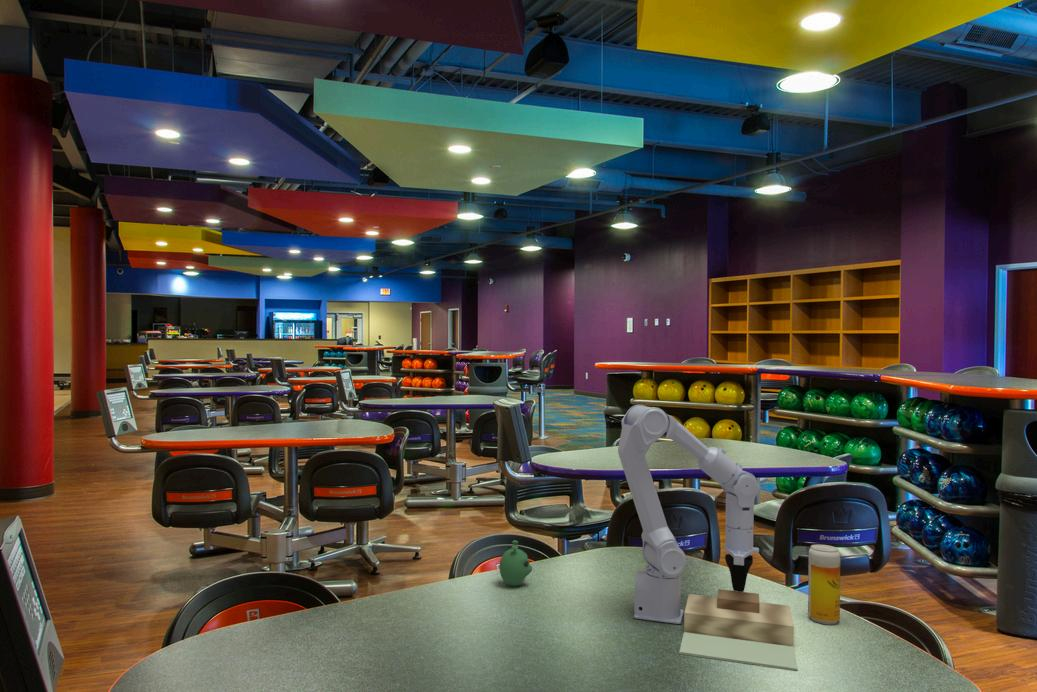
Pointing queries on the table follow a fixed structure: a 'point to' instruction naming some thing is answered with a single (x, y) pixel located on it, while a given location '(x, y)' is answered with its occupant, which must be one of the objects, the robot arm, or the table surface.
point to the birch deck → (739, 621)
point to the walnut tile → (738, 601)
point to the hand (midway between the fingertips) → (738, 590)
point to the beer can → (824, 584)
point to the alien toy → (514, 566)
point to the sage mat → (738, 651)
